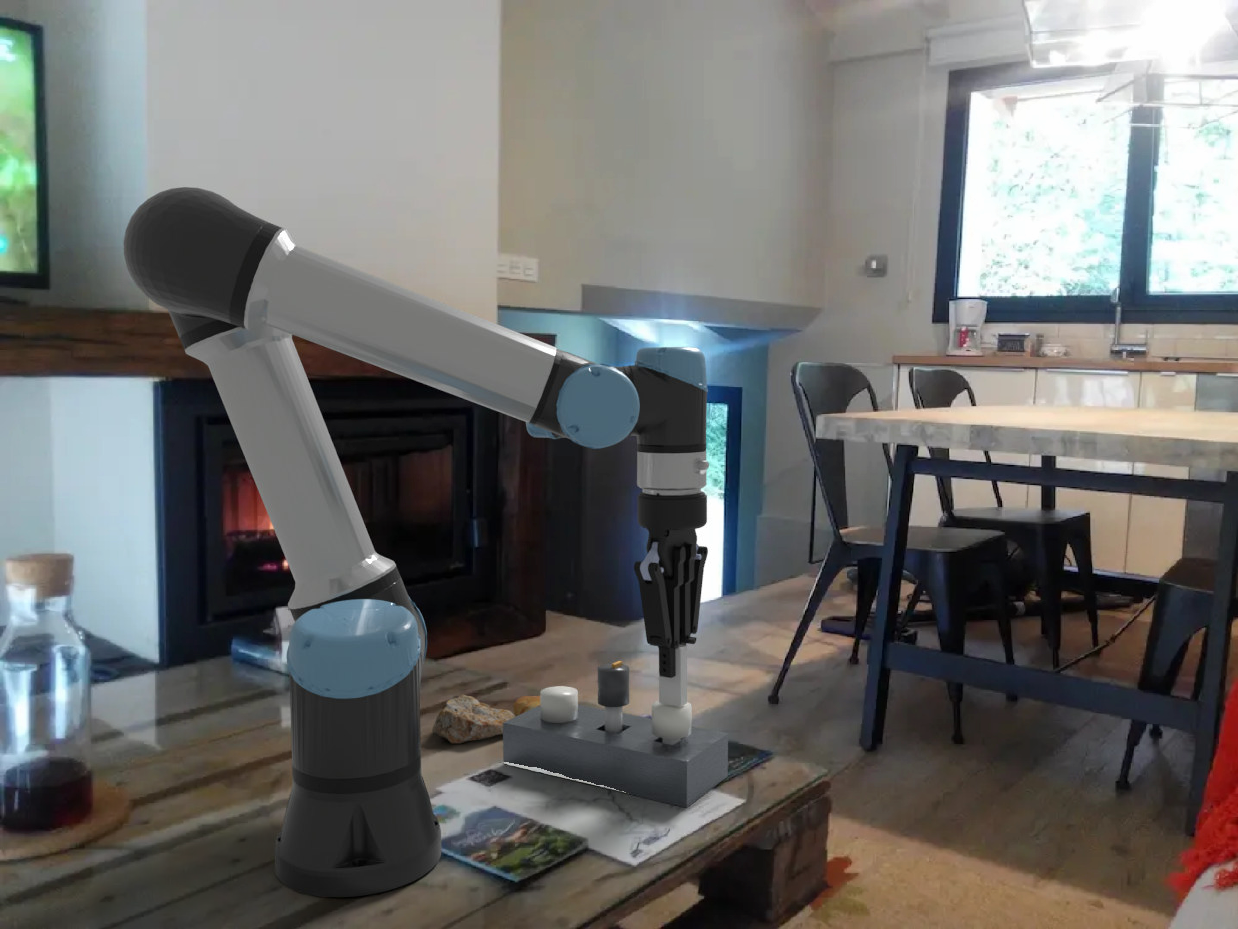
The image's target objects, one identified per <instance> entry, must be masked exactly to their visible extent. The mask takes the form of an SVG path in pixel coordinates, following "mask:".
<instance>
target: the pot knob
mask: <svg viewBox="0 0 1238 929" xmlns="http://www.w3.org/2000/svg"><path fill="white" fill-rule="evenodd" d="M597 704H598V705H599V706H602V707H604V710H605V731H606V732H610V733H615V734H619V733H621V732H622V713H623V707H625V706H627V705H629V704H630V667H629V665H627V664H625V663H624V664H623V661H621V660H617V661H615V662H613V663H604V664H601V665H599V666H597Z"/></svg>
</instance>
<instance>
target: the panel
mask: <svg viewBox="0 0 1238 929" xmlns="http://www.w3.org/2000/svg"><path fill="white" fill-rule="evenodd" d="M502 751H503V753H502V758H503V759H502V760H503V762H509V763H514V764H519V765H524V766H528V767H537V768H541V769H544V770H547V771H550V772H553V773H559V774H562V775H564V776H566V777H569V778H572V779H579V780H583V781H587V782H591V783H594V784H596V785H604V786H607V787H610V788H614V789H616V790H619V791H624V792H626V793H629V794H628V795H630V794H631V795H632V796H634V795H635V797H639V798H643V797H644V798H643V799H646V800H647V799H648V800H652V801H655V802H659V803H660V802H661V803H664V804H668V805H672V806H676V807H681V808H686V809H688V808H689V807H690V806H691V805H693V804H694V803H695V802H696V801H698V800H699V799H700V798H702V797H703V796H705V795H706V794H707V793H708V792H710V791H711V790H712V789H714V788H715V787H716V786H717V785H719V784H720V783H722V782H723V781H724V780H726V778H728V775H729V772H728V770H729V733H728V732H723V731H717V730H712V729H707V728H703V727H702V728H701V727H696V726H692V733H691V735H689V736H687V737H684V738H681V741H679V742H678V743H676V744H674V745H669V744H664V743H663V738H660V737H657V736H655V735H653V734H652V717H651V718H649V717H645V716H640V715H634V714H630V713H623V712H622V732H621V733H619V734H615V733H610V732H606V731H605V708H604V709H603V708H599V707H594V706H593V707H592V706H588V705H583V704H578V718H577V719H575V720H573V721H570V722H565V723H552V722H546V721H544V720H542V719H541V708H540V705H539V706H537V707H535V708H533V709H531V710H529V711H527V712H524V713H522V714H520V715H518V716H516V717H514V718H512V719H510V720H507V721H505V722H503V734H502ZM503 762H502V763H503ZM626 793H625V794H626ZM631 795H630V796H631Z"/></svg>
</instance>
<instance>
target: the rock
mask: <svg viewBox="0 0 1238 929" xmlns="http://www.w3.org/2000/svg"><path fill="white" fill-rule="evenodd" d="M514 717H516V716H515V715H514V714H513V712H512V711H511V710H508V709H501V708H499V709H498V708H494V707H493V708H492V707H490V705H488V703H487V704H486V703H484V702H479V700H478V699H476V698H475V697H474V696H470V695H465V694H462V693H459V695H458V696H457V697H453V698H450V699H448V700H447V702H445V704H444V705H443V708H442V709H441V710H440V712H439V713H438V715H437V717H436V719H435V721H434V723H433V724H434V725H433V726H432V729H431V733H436V734H438V735H439V736H440V737H441V738H444V739H446V740H447V741H448V742H449V743H450V744H453V745H455V744H464V743H467V742H470V741H471V742H472V741H477V740H481V739H486V738H492V737H494V736H498V735H503V722H505V721H507V720H510V719H512V718H514Z"/></svg>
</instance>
